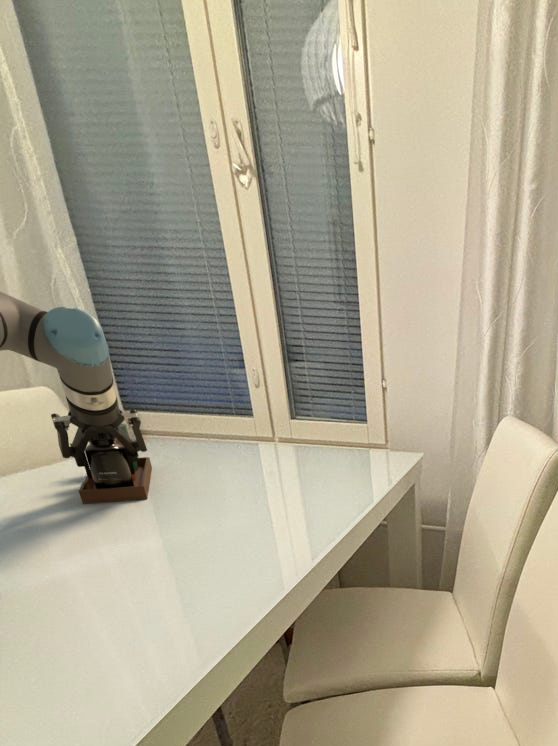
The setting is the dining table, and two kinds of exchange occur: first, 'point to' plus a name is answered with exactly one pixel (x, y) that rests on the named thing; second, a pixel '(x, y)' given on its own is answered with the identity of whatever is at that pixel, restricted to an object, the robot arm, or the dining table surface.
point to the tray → (121, 493)
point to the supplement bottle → (108, 462)
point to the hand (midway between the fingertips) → (110, 470)
